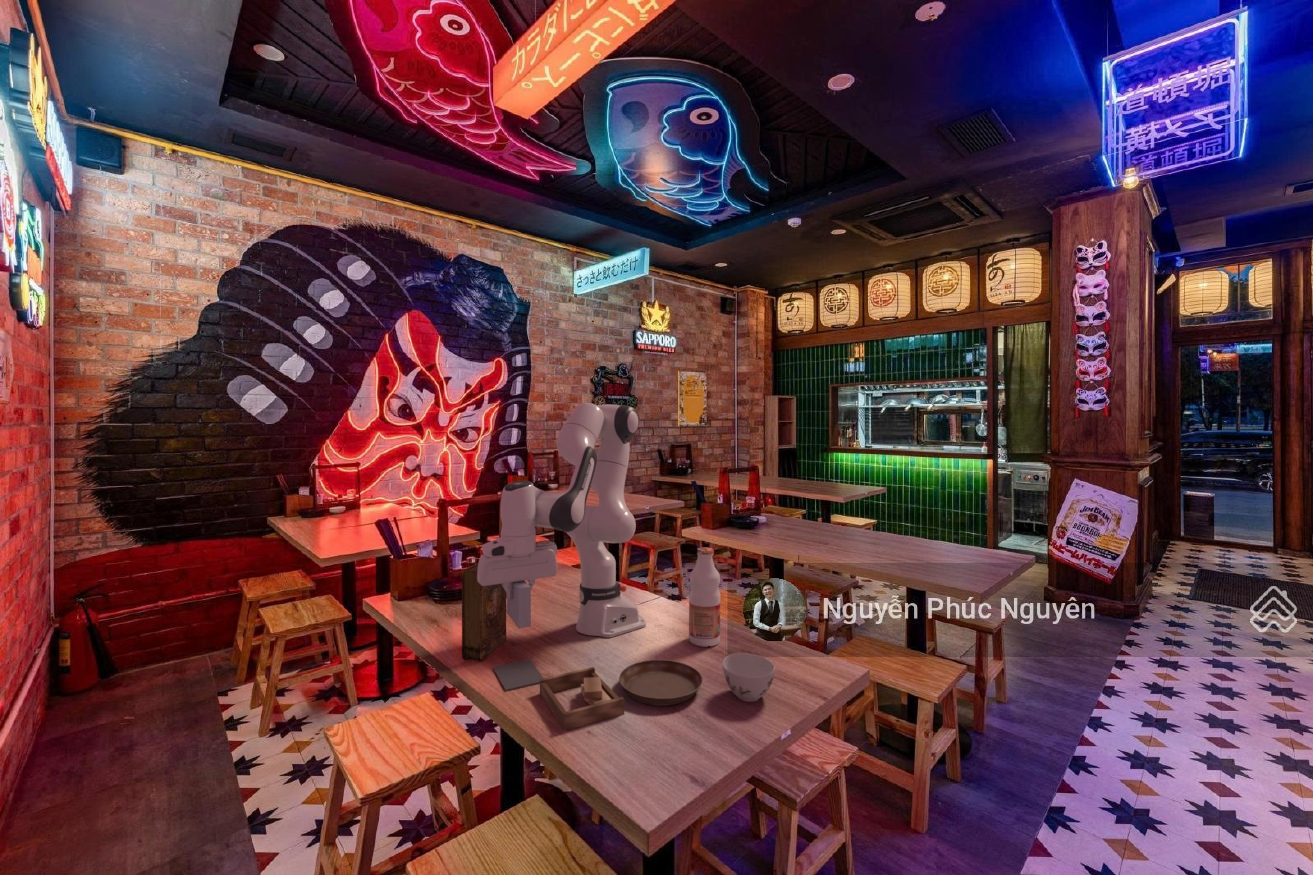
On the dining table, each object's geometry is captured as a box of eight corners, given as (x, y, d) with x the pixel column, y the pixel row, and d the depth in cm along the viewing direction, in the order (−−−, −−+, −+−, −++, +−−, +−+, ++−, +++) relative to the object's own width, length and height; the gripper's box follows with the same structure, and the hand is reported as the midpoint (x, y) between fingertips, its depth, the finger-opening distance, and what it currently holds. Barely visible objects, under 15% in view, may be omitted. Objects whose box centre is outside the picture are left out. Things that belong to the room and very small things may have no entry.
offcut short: (600, 685, 131) (600, 676, 131) (602, 699, 125) (602, 691, 124) (583, 686, 131) (583, 678, 131) (584, 700, 124) (584, 692, 124)
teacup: (748, 715, 122) (748, 680, 122) (711, 693, 132) (711, 660, 132) (792, 696, 131) (792, 663, 130) (754, 676, 141) (755, 646, 140)
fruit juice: (683, 638, 165) (683, 547, 164) (709, 633, 169) (710, 544, 168) (698, 649, 157) (699, 554, 156) (726, 644, 161) (727, 550, 160)
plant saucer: (655, 663, 148) (655, 651, 148) (718, 687, 135) (718, 674, 135) (601, 692, 132) (601, 679, 132) (667, 722, 119) (668, 708, 119)
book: (491, 637, 165) (491, 556, 164) (508, 639, 163) (508, 557, 163) (461, 661, 149) (461, 571, 148) (480, 663, 147) (479, 572, 147)
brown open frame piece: (593, 680, 138) (593, 666, 138) (624, 713, 122) (624, 698, 122) (539, 693, 131) (539, 679, 131) (565, 730, 115) (565, 714, 115)
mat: (529, 660, 149) (529, 659, 149) (545, 682, 137) (545, 680, 137) (492, 668, 144) (492, 666, 144) (505, 691, 132) (505, 689, 132)
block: (518, 611, 146) (518, 574, 146) (530, 626, 136) (530, 586, 135) (507, 613, 145) (507, 576, 144) (518, 628, 134) (518, 588, 134)
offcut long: (596, 690, 134) (596, 680, 134) (611, 710, 125) (611, 699, 125) (580, 694, 132) (580, 684, 132) (595, 714, 123) (595, 703, 123)
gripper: (553, 538, 147) (553, 588, 148) (475, 546, 137) (475, 600, 138) (560, 542, 142) (560, 594, 142) (480, 551, 132) (480, 607, 132)
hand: (518, 597), depth 140 cm, fingers closed on block, 3 cm apart
